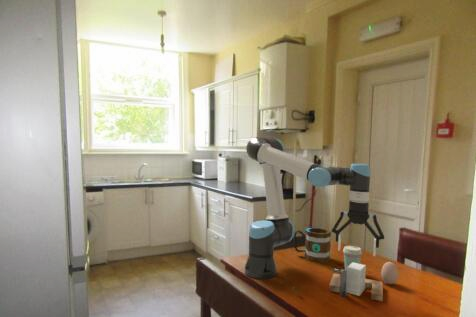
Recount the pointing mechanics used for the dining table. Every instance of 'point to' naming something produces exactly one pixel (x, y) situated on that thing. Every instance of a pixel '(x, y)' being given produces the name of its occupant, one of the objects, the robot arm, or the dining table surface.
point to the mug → (316, 244)
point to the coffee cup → (351, 255)
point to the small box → (355, 278)
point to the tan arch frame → (369, 284)
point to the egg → (389, 273)
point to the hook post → (342, 281)
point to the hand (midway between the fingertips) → (356, 252)
